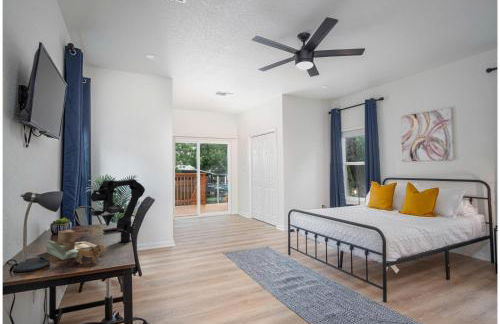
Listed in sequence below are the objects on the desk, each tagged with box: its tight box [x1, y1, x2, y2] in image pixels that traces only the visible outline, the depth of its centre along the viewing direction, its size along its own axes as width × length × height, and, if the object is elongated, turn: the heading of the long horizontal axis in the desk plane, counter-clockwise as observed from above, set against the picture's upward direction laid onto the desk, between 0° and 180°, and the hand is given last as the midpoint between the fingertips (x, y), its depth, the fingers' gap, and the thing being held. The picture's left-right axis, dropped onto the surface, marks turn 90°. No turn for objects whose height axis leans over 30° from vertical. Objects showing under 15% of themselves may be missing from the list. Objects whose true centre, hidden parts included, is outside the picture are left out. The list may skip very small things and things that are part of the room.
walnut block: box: [57, 229, 76, 251], centre depth 165 cm, size 6×7×10 cm
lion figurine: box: [71, 243, 105, 265], centre depth 150 cm, size 15×5×9 cm, turn 107°
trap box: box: [46, 239, 98, 261], centre depth 168 cm, size 20×22×6 cm
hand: (107, 225), depth 180 cm, fingers closed
